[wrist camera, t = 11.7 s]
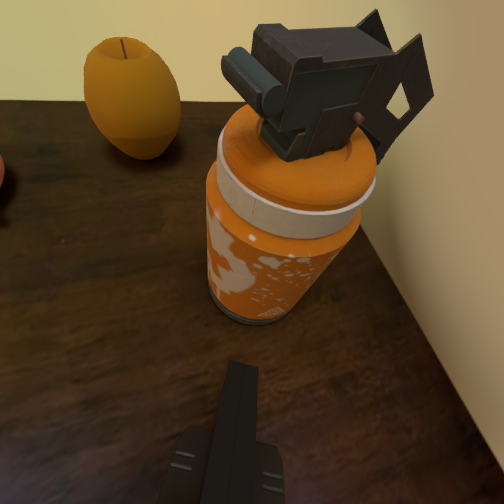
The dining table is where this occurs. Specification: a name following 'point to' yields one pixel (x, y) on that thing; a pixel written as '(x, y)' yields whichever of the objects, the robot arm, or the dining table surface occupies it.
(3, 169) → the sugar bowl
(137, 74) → the apple
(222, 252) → the canister
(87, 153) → the dining table surface
